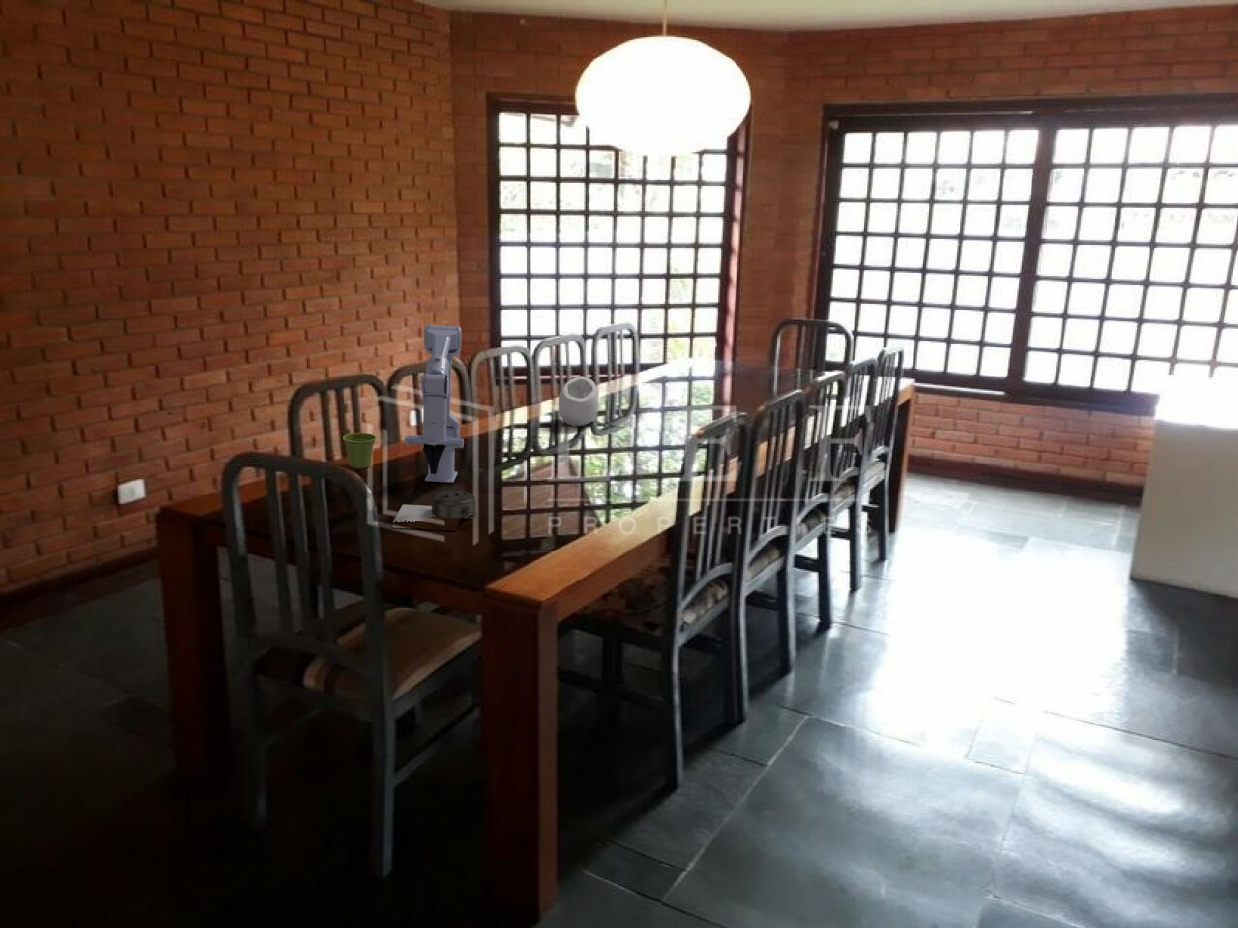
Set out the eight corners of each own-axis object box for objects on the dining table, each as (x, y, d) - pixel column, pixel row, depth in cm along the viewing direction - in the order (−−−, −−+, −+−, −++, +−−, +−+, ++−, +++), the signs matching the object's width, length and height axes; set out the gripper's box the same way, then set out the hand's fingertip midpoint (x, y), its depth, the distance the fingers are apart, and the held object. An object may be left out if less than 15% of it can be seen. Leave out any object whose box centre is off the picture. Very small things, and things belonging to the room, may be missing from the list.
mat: (403, 506, 246) (403, 504, 246) (465, 509, 247) (465, 507, 247) (390, 527, 231) (390, 526, 231) (456, 531, 231) (456, 529, 231)
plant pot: (341, 470, 271) (341, 441, 268) (344, 460, 280) (344, 432, 277) (375, 470, 273) (375, 441, 270) (377, 461, 282) (377, 433, 279)
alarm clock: (421, 507, 244) (454, 530, 233) (422, 488, 242) (455, 510, 231) (458, 501, 251) (492, 523, 239) (459, 482, 249) (493, 503, 238)
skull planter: (604, 411, 353) (603, 371, 340) (593, 447, 339) (591, 407, 326) (568, 408, 355) (565, 367, 342) (556, 443, 341) (552, 403, 328)
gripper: (402, 423, 235) (402, 475, 238) (461, 427, 235) (460, 479, 239) (408, 416, 241) (407, 467, 245) (465, 420, 242) (464, 470, 246)
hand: (434, 472), depth 243 cm, fingers closed
